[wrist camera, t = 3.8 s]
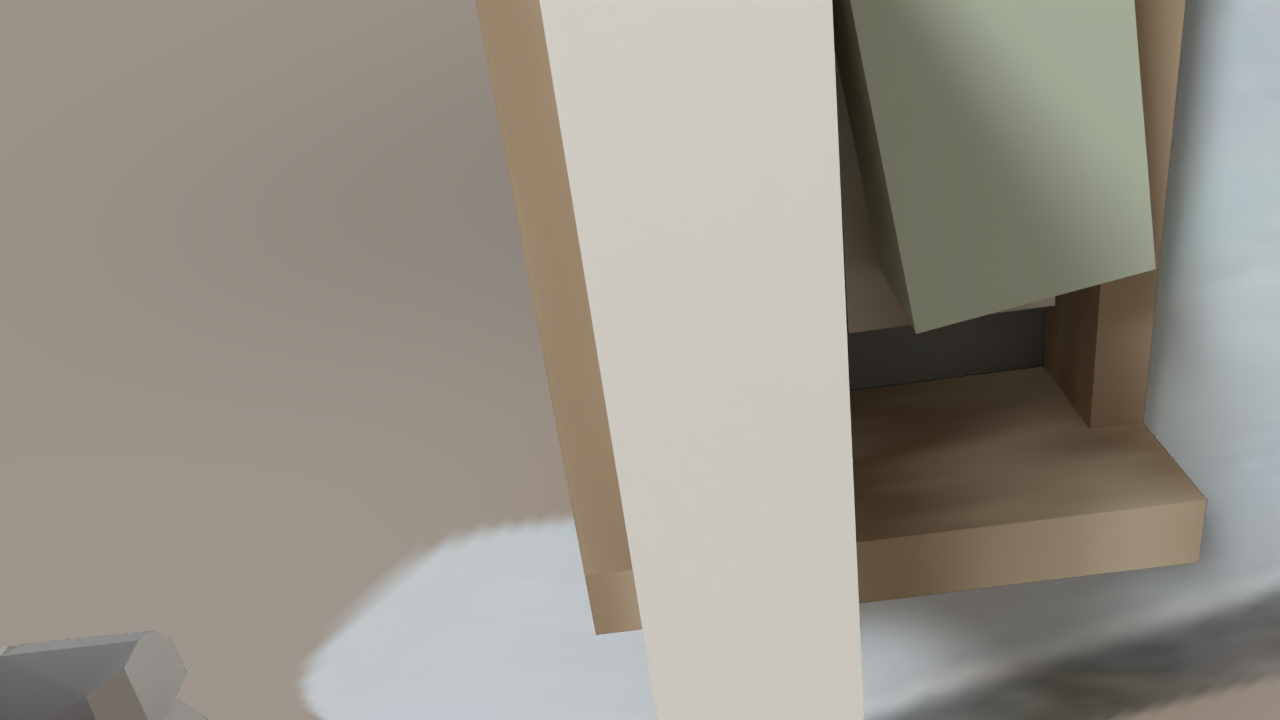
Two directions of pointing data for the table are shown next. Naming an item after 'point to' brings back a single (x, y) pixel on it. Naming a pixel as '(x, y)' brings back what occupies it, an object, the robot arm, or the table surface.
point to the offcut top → (997, 148)
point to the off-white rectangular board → (721, 339)
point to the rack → (895, 393)
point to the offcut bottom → (867, 244)
